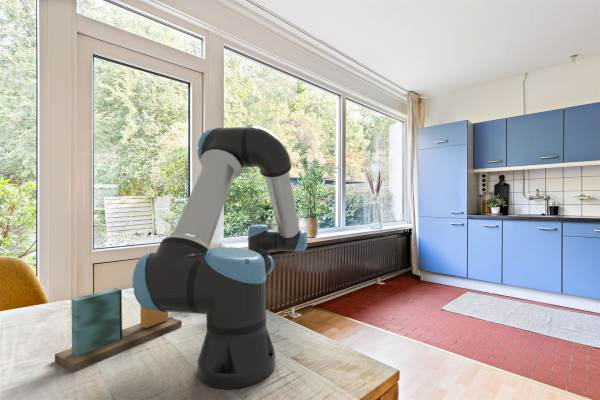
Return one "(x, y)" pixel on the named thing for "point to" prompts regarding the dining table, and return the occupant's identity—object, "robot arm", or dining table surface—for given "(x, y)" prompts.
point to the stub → (152, 317)
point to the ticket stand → (104, 330)
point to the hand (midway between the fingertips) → (190, 287)
